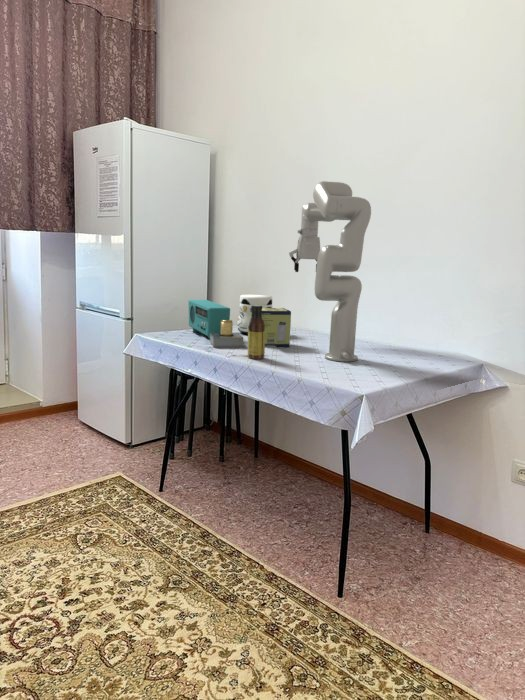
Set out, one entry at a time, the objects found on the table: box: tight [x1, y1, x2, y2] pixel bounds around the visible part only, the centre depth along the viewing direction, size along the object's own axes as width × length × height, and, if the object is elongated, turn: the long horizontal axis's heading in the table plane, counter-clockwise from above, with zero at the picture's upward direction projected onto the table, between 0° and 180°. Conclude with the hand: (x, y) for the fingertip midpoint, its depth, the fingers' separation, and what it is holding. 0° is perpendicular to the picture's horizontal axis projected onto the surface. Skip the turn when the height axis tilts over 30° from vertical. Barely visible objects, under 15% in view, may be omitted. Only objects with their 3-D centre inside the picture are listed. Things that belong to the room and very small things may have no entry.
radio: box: [188, 299, 231, 340], centre depth 243 cm, size 34×10×15 cm, turn 23°
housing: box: [209, 332, 244, 349], centre depth 219 cm, size 12×12×5 cm
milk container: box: [236, 294, 273, 335], centre depth 255 cm, size 17×17×18 cm
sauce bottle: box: [247, 305, 266, 360], centre depth 198 cm, size 7×6×20 cm
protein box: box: [250, 307, 292, 348], centre depth 225 cm, size 10×16×16 cm
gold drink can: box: [221, 319, 234, 336], centre depth 218 cm, size 5×5×10 cm
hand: (307, 272), depth 241 cm, fingers open, 9 cm apart
